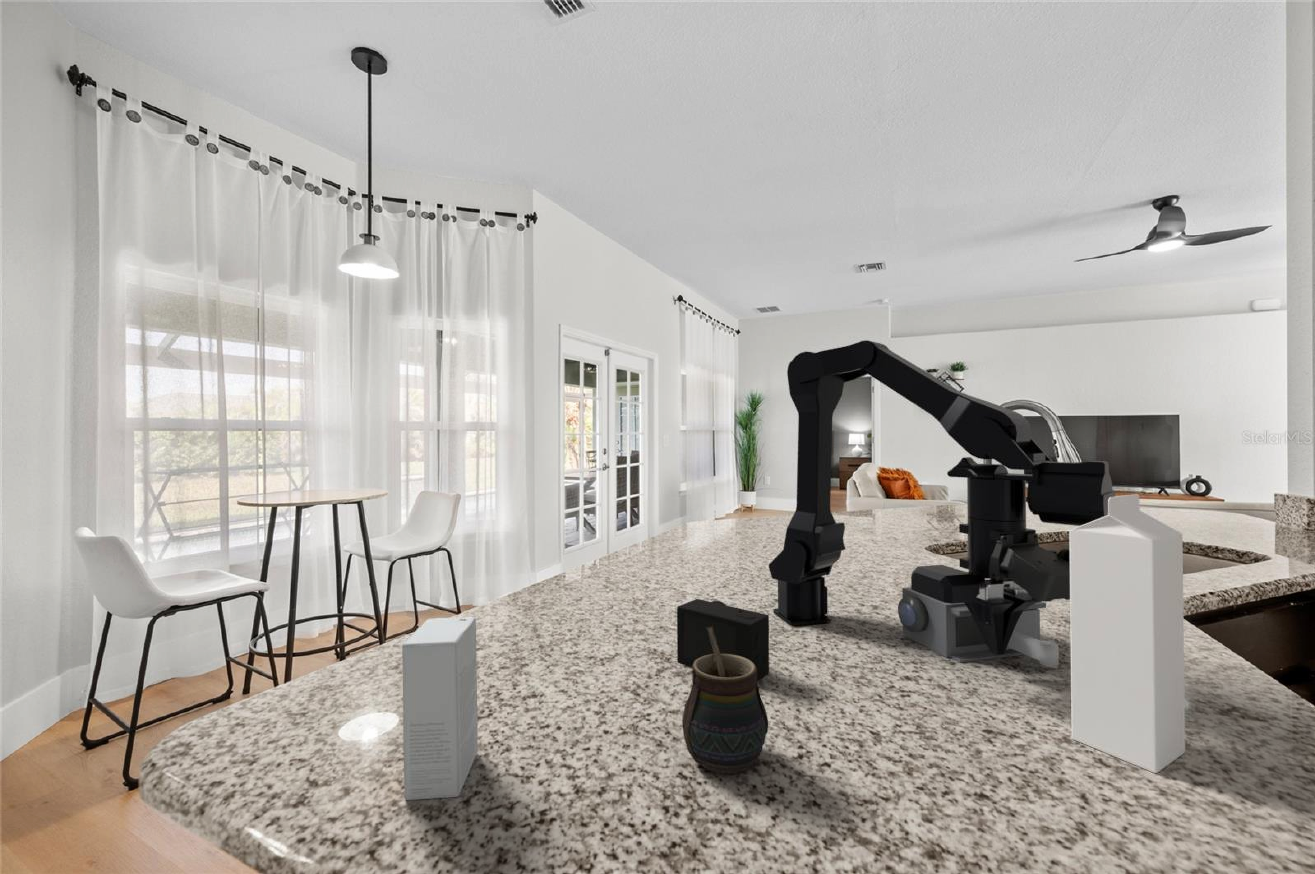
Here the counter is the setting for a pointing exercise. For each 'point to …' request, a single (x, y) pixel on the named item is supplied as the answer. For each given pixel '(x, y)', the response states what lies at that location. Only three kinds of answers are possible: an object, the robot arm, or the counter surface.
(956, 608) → the camera housing
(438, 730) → the skincare box
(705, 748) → the mate gourd
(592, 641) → the counter surface
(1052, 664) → the side hatch
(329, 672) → the counter surface
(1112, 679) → the milk
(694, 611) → the digital camera
